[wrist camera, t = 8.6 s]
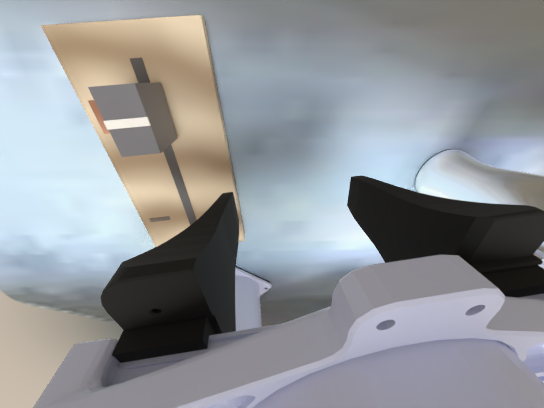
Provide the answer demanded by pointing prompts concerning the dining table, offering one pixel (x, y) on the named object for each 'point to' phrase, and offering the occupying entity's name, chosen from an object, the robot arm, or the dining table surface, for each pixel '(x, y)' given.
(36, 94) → the dining table surface
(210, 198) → the fader board
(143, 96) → the fader knob
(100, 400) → the robot arm
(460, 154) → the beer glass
